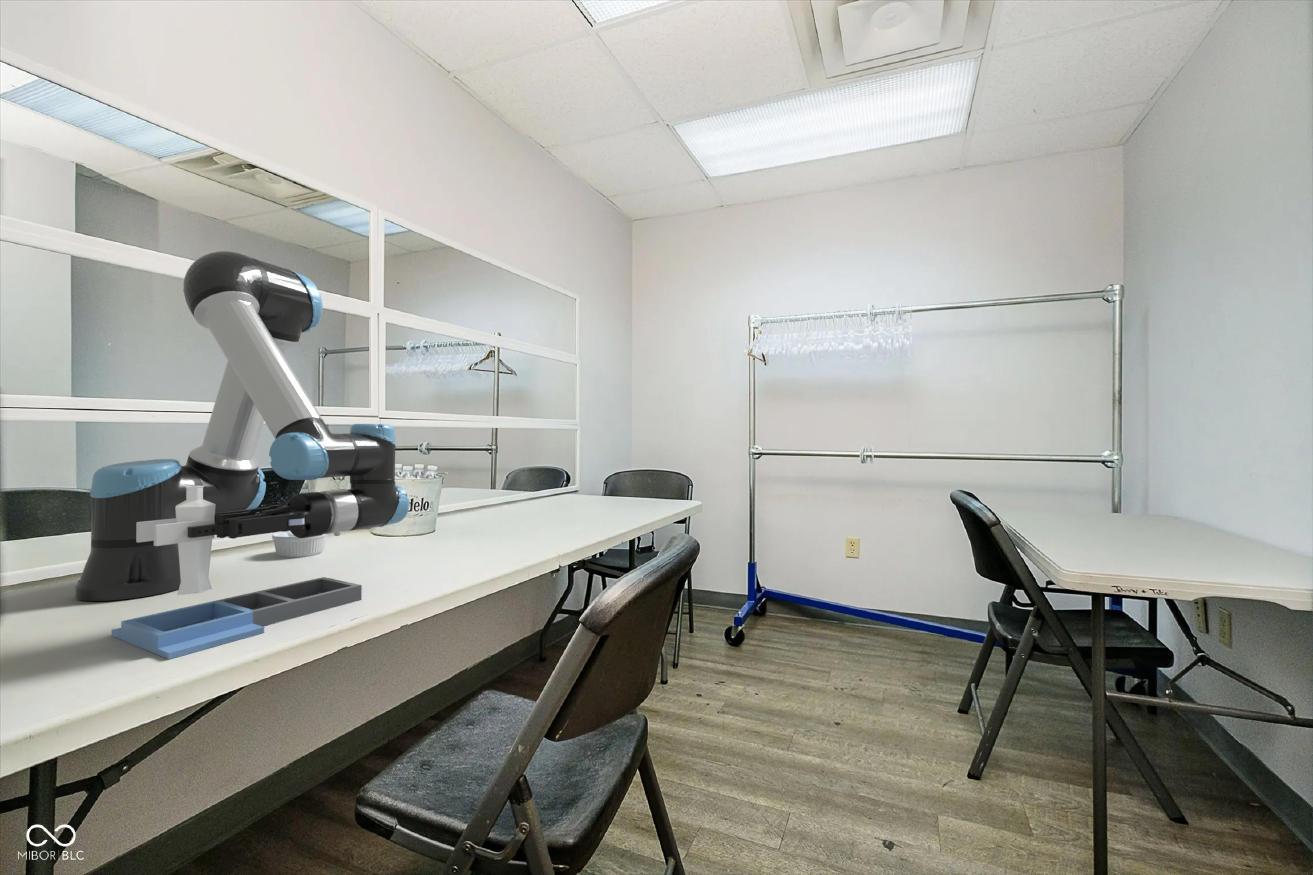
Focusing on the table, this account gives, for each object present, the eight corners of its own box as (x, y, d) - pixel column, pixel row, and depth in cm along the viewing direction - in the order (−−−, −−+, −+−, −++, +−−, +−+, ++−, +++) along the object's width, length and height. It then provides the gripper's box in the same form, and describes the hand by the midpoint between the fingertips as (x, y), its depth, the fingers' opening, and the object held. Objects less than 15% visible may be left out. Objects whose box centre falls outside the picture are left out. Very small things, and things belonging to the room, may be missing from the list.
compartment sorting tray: (313, 588, 102) (313, 574, 102) (372, 601, 94) (372, 587, 94) (111, 635, 77) (111, 617, 77) (168, 659, 69) (169, 639, 69)
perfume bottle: (179, 597, 75) (180, 488, 75) (167, 592, 77) (168, 486, 77) (220, 589, 79) (220, 485, 79) (207, 585, 81) (208, 484, 81)
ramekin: (260, 557, 127) (260, 534, 127) (301, 548, 138) (302, 527, 138) (299, 560, 124) (299, 537, 124) (338, 551, 135) (339, 529, 135)
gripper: (352, 539, 90) (177, 569, 69) (291, 530, 98) (117, 555, 78) (353, 494, 90) (177, 510, 69) (291, 489, 98) (118, 502, 78)
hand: (146, 533), depth 74 cm, fingers closed on perfume bottle, 4 cm apart
